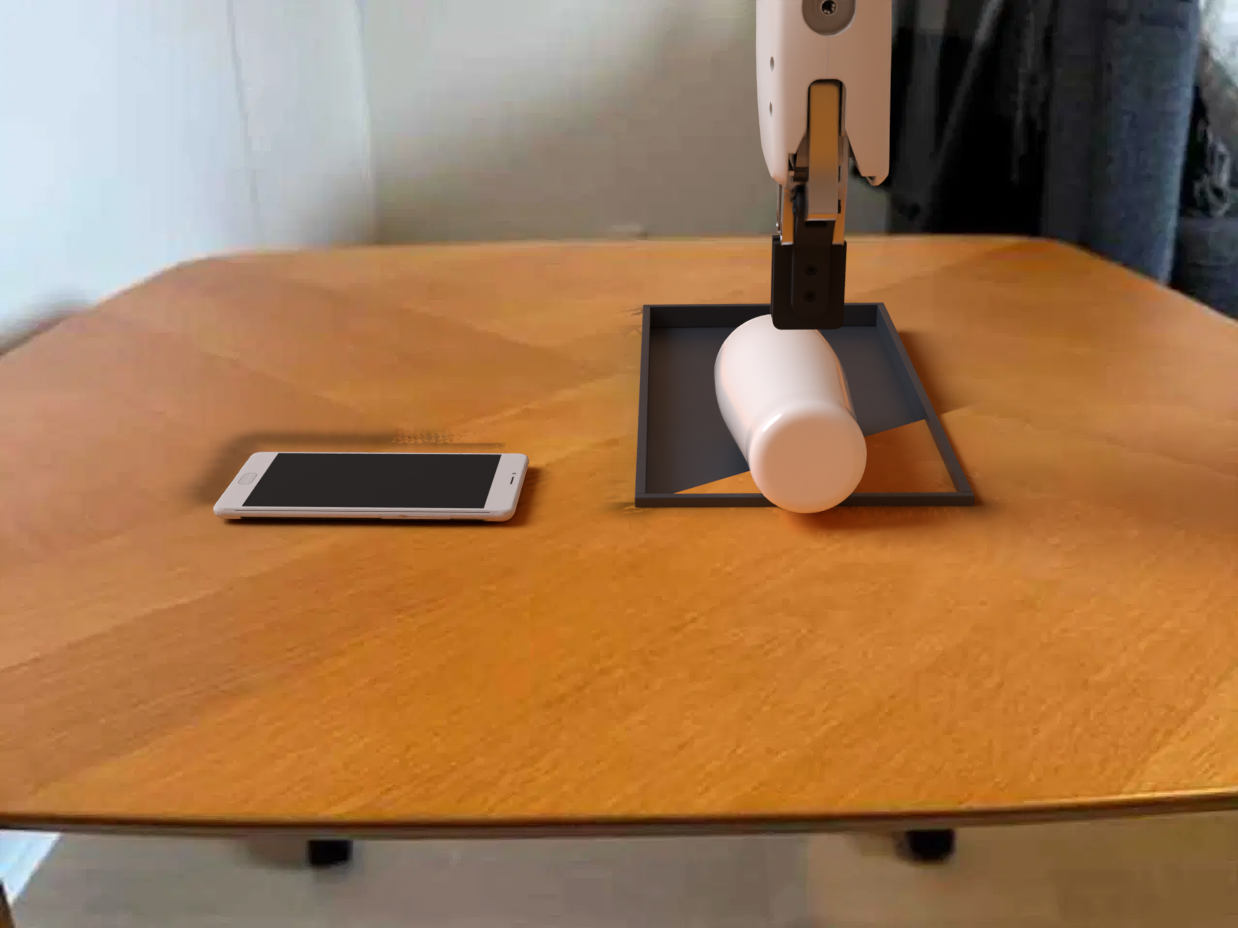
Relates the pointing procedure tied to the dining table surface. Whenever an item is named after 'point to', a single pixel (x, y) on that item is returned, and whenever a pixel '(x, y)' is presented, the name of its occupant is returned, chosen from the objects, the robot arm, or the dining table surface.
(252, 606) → the dining table surface
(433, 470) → the smartphone
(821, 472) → the drinking glass
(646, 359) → the tray
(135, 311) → the dining table surface
